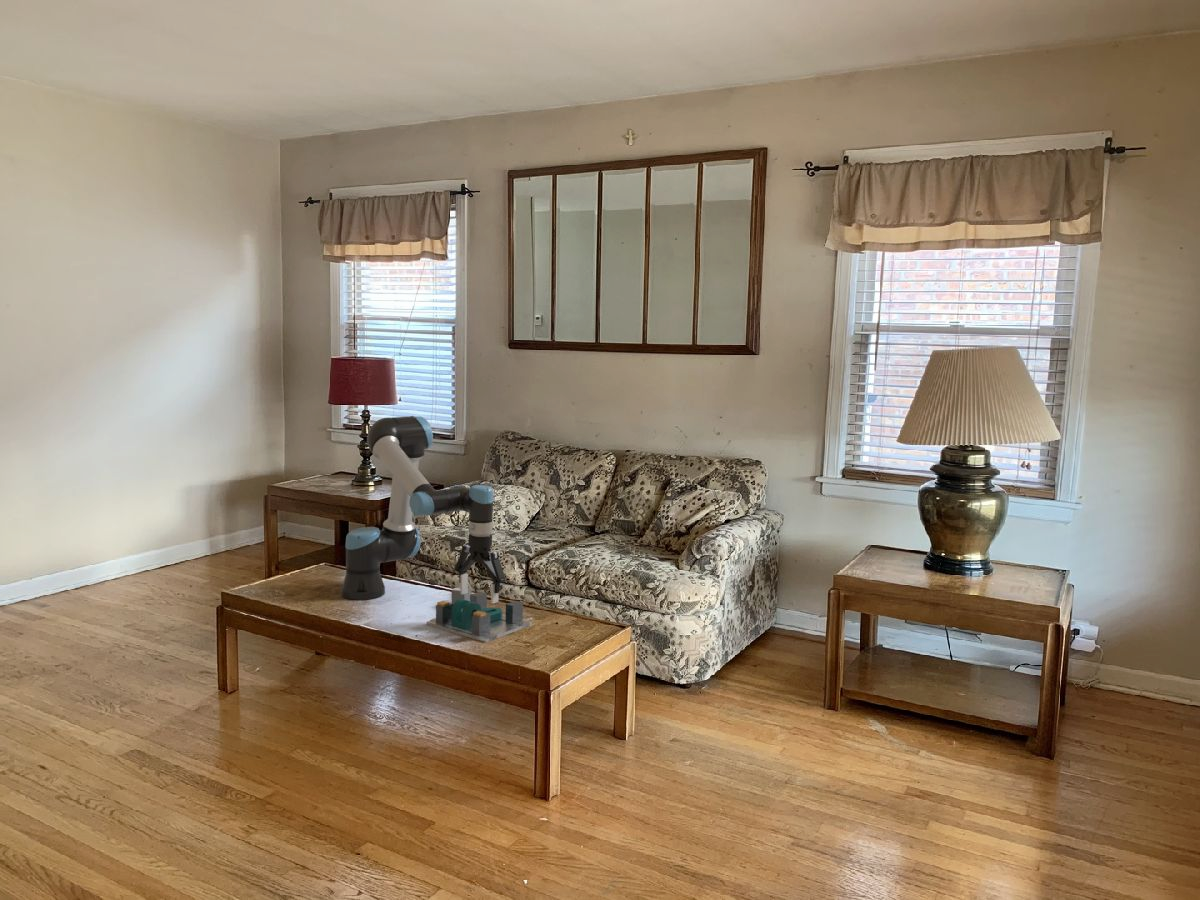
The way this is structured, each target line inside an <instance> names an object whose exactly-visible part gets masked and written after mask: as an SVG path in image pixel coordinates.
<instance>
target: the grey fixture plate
mask: <svg viewBox="0 0 1200 900" xmlns="http://www.w3.org/2000/svg"><path fill="white" fill-rule="evenodd" d="M470 602H474V603H477V604H479V605H480V606H481V609H485V608H488V606H487V604H488V594H487V593H486V592H484V591H477V592H474V593H472V594H471V595H470ZM452 607H453V603H452V602H449V601H445V600H441V601H437V602H436V605H435V617H434V618H433V619H432V618H431V619H430V620H428V621H426V626H429V627H433V628H437V629H439V630H442V631H447V632H449V633H453V634H456V635H460V636H463V637H466V638H470V639H473V640H476V641H479V642H483V643H489V642H490V641H492V640H493V641H494V640H496V639H499V638H501V637H504V636H507V635H510V634H512V633H514V632H517V631H520V630H523V629H525V628H528V627H531V626H533V621H530V620H527V619H524V602H523V601H519V600H514V601H512V602H508V603H506V604H505V613H502V619H499V620H496V621H493V622H490V613H486V612H482V611H476V612H473V615H472V628H471V629H468V630H464V629H461V628H458V627H455V626H452V625H451V620H452ZM461 612H462V610H461Z"/></svg>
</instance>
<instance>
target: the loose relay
mask: <svg viewBox="0 0 1200 900" xmlns="http://www.w3.org/2000/svg"><path fill="white" fill-rule="evenodd" d="M472 589H473V588H472V587H468V593H466V594H462V595H461V594H460V585H459V586H456V587H454V588H452V589H451V603H453V604H454V603H455V602H456V601H457V600H459V599H464V600H467V601H469V602H470V595H471V594H473V593H472Z"/></svg>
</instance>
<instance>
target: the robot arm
mask: <svg viewBox="0 0 1200 900" xmlns="http://www.w3.org/2000/svg"><path fill="white" fill-rule="evenodd" d="M366 442H367V446H368V449H369V451H370V453H371V454H372V455H373V457H374V458H375V459H377V460H380V461H381V462H382V463H383V464H384V465H385V467H386V468H387V469H388V471H389V472H390V473H391V474H392V477H391V478H392V479H391V486H390V487H391V488H390V497H389V498H390V499H389V505H388V506H389V507H388V516H387V518H386V520H384V521H383V523H382V529H380V528H379V527H375V526H367V527H366V526H363V527H359V528H358V527H357V528H355V529H352V530H350V531H349V532H348V533H347V534H346V537H345V545H344V546H345V547H344V548H345V575H344V580H343V584H342V585H341V589H340V594H341V597H343V598H345V599H348V600H356V601H357V600H360V601H361V600H372V599H377V598H380V597H382V596H384V595H385V593H386V587H385V584H384V581H383V577H382V575H381V569H380V568H381V567H380V566H381V563H387V562H388V563H389V562H395V561H404V560H406V559H410V558H413V557H415V556H416V555H417V554H418V553H419V550H420V547H421V543H422V541H421V539H422V538H421V532H420V531H419V528H418V527H416V526H417V525H416V523H415V522H414V521H413V517H414V516H417V517H420V516H425V517H427V516H431V515H440V514H446V513H454V512H466V513H468V533H469V534H468V544H464V545H462V547H461V551H460V552H461V553H460V555H459V558H458V560H457V562H456V564H455V566H454V572H457V573H458V575H459V577H458V578H459V579H458V582H459V584H460V585H459V586H460V594H461V595H462V594H466V593H468V588H469V586H468V585H469V573H468V571H469V569H470V568H471V566H472V565H473V564H474V563H478V564H482V566H484V568H485V569H486V571H487V572H488V575H489V577H490V579H491V581H492V583H490V584H491V585H490V586H491V587H490V589H491V590H490V594H491V595H490V604H495V603H499V594H500V592H501V583H504V582H506V577H505V574H504V570H503V567H502V564H501V560H500V556H499V553H500V552H499V551H492V546H493V524H494V523H493V519H494V518H493V517H494V515H493V514H494V500H495V499H494V489H493V487H491V486H489V485H485V484H476V485H472V486H470V487H469V488H468V487H466V486H464V485H458V484H457V485H453V486H451V487H450V488H444V489H435V488H434V487H433V485H432V484H430V482H429V480H427V478H425V476H424V474H422V472H421V471H420V470H419V463H420V461H421V459H422V458H424V456H425V450H428V449H429V448H430V447H431V446H432V444H433V442H434V434H433V429H432V426H431V424H430V423H429V421H428V420H427V419H426V417H423V416H416V415H415V416H414V415H411V416H396V417H383V418H380V419H378V420H376V421H375V422H373V424H372V425H371V427H369V430H368V433H367V438H366ZM469 554H470V555H469Z"/></svg>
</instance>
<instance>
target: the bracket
mask: <svg viewBox="0 0 1200 900" xmlns="http://www.w3.org/2000/svg"><path fill="white" fill-rule="evenodd" d="M461 610H462V612H461ZM476 611H482V612H486V613H490V622H493V621H496V620H499V619H502V614H503V609H501V608H499V607H487V608H485V609H481V606H480V605H479V604H477V603H474V602H469V601H467V600H464V599H459V600H457V601H456V602H455V603H454V604H453V607H452V620H451V625H452V626H455V627H458V628H461V629H464V630H468V629H471V628H472V615H473V612H476Z"/></svg>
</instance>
